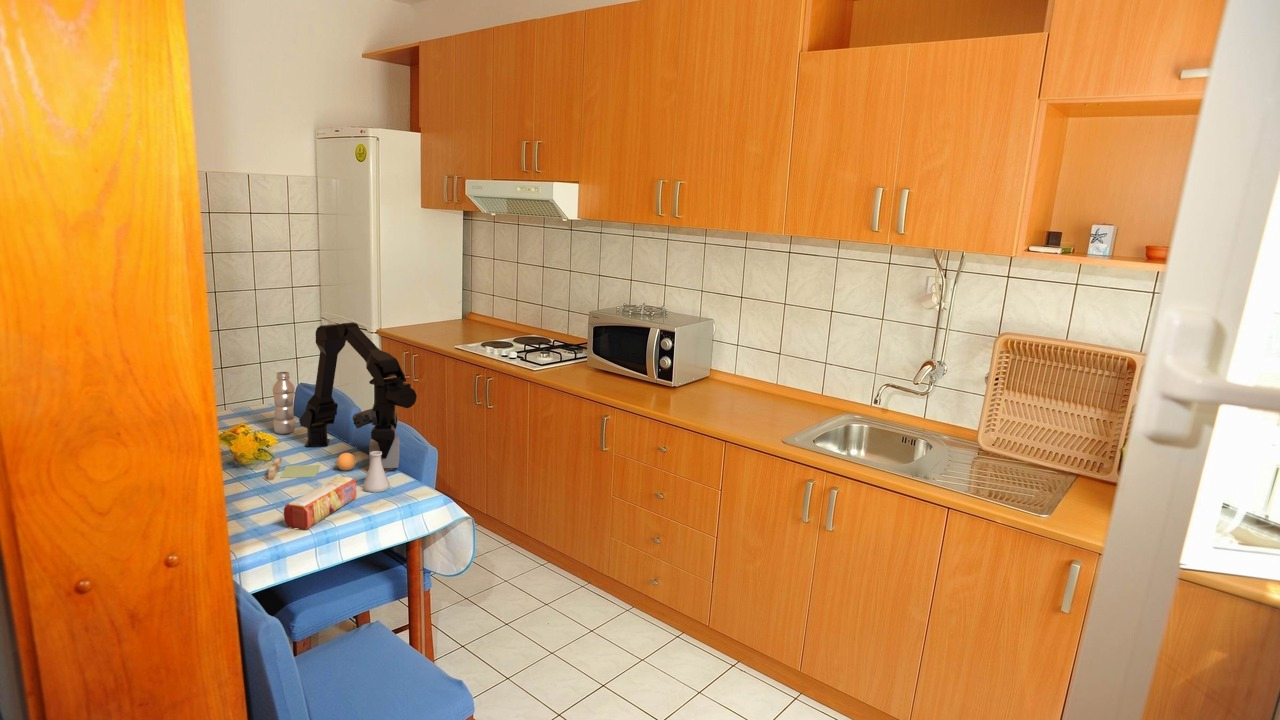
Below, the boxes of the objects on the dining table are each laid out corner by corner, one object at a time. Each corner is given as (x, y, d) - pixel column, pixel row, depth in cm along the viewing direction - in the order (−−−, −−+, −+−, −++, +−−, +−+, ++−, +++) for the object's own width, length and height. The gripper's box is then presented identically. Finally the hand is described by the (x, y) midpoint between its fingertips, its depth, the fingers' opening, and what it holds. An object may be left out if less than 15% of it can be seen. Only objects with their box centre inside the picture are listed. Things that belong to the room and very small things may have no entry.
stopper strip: (277, 465, 209) (277, 456, 208) (281, 465, 209) (281, 456, 209) (268, 480, 198) (268, 471, 197) (272, 480, 198) (272, 471, 197)
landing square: (286, 466, 208) (286, 466, 208) (320, 465, 211) (320, 464, 211) (280, 477, 200) (280, 477, 200) (315, 476, 202) (315, 475, 202)
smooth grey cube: (371, 459, 214) (371, 436, 212) (399, 458, 216) (399, 436, 214) (369, 468, 206) (369, 444, 205) (398, 467, 208) (398, 444, 207)
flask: (384, 494, 193) (384, 458, 191) (357, 492, 193) (356, 456, 191) (394, 484, 200) (394, 449, 198) (367, 482, 200) (367, 447, 198)
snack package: (336, 496, 190) (336, 472, 189) (359, 499, 189) (359, 475, 188) (282, 529, 170) (281, 502, 168) (308, 533, 168) (307, 505, 167)
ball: (338, 467, 210) (337, 450, 209) (356, 466, 211) (356, 450, 210) (336, 473, 205) (335, 456, 204) (355, 472, 207) (354, 455, 206)
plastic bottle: (269, 434, 235) (266, 374, 231) (282, 429, 241) (280, 369, 238) (287, 436, 234) (285, 376, 230) (300, 431, 240) (298, 371, 237)
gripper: (357, 393, 214) (358, 444, 217) (350, 410, 196) (351, 465, 199) (397, 393, 217) (397, 443, 220) (394, 409, 199) (394, 464, 202)
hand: (385, 453), depth 210 cm, fingers closed on smooth grey cube, 8 cm apart
